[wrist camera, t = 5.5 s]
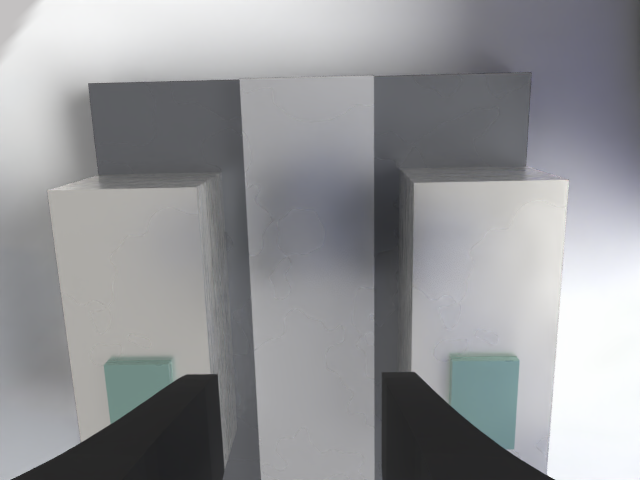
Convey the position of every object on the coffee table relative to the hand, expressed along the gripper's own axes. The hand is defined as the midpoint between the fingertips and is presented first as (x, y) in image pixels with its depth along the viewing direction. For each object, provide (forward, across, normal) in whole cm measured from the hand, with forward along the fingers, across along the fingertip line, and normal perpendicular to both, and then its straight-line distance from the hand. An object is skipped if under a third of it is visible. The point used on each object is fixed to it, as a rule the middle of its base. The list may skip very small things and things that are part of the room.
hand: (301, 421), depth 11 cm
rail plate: (+8, 0, 0) cm, 8 cm away
